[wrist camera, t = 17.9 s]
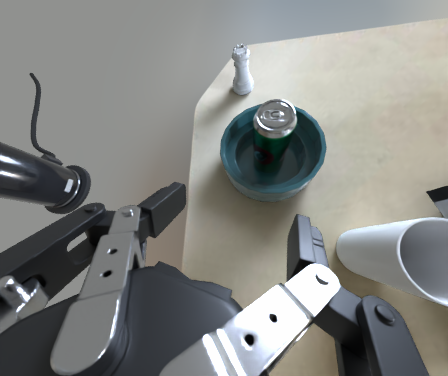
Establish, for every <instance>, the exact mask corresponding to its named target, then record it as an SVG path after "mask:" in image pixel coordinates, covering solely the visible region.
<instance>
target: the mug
mask: <svg viewBox="0 0 448 376" xmlns="http://www.w3.org/2000/svg"><path fill="white" fill-rule="evenodd" d="M336 251H337V255H338V257H339V259H340V261H341V262H342V264H343V265H344V266H345V267H346V268H347V269H349V270H350V271H352V272H354V273H356V274H359V275H361V276H364V277H366V278H369V279H371V280H374V281H377V282H380V283H383V284H385V285H388V286H391V287H393V288H396V289H399V290H402V291H404V292H407V293H410V294H412V295H415V296H418V297H421V298H424V299H426V300H429V301H432V302H435V303H438V304H441V305H444V306H447V307H448V219H444V218H436V217H430V218H422V219H413V220H407V221H400V222H394V223H388V224H382V225H376V226H370V227H363V228H357V229H352V230H348V231H346V232H344V233H343V234H342V235H341V236H340V237H339V238H338V240H337V244H336Z"/></svg>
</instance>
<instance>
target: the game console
mask: <svg viewBox="0 0 448 376" xmlns="http://www.w3.org/2000/svg"><path fill="white" fill-rule="evenodd" d="M427 194H428V195H429V197H430V198H431V199H432V201H433V202H434V204H435V205H436V207H437V208H438V209H439V211H440V212H441V214H442V215H443V216H444V218H445V219H448V186H445V187H441V188H438V189H434V190H431V191H427Z"/></svg>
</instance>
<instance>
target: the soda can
mask: <svg viewBox="0 0 448 376" xmlns="http://www.w3.org/2000/svg"><path fill="white" fill-rule="evenodd" d="M296 124H297V117H296V113H295V109H294V107H293V106H292V105H291V104H290V103H289V102H287V101H284V100H280V99H274V100H270V101H267V102H265V103H263V104H262V105H261V106H260V107H259V109H258V111H257V113H256V114H255V116H254V119H253V159H254V165H255V167H256V168H257V169H258V170H259V171H261V172H264V173H273V172H275V171H277V170H278V169H280V167H281V166H282V164H283V161H284V158H285V155H286V153H287V150H288V147H289V144H290V141H291V139H292V136H293V133H294V130H295V128H296Z"/></svg>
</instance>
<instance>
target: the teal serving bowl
mask: <svg viewBox="0 0 448 376" xmlns="http://www.w3.org/2000/svg"><path fill="white" fill-rule="evenodd" d="M261 105H262V104H259V105H257V106H254V107H251V108H249V109H246V110H245V111H243V112H242V113H240V114H239V115H238V116H236V117H235V118H234V119H233V120H232V121H231V123H230V124H229V125H228V126H227V128H226V129H225V132H224V134H223V137H222V139H221V150H220V155H221V158H222V161H223V164H224V167H225V170H226V172H227V175H228V177H229V180H230V181H231V182H232V184H233V185H234V186H235V188H236V189H237V190H238V191H240V192H241V193H242V194H244V195H245V196H247V197H248V198H251V199H255V200H258V201H262V202H277V201H281V200H284V199H287V198H290V197H293V196H294V195H295V194H297V193H298V192H299V191H301V190H302V189H303V188H304V187H305V186H306V185H307V184H308V183H309V182H310V181H311V180H312V179H313V178H314V176H315V175H316V173H317V172H318V170H319V169H320V167H321V166H322V165H323V162H324V158H325V153H326V142H325V136H324V132H323V131H322V129H321V127H320V126H319V124H318V122H317V121H316V120H315V119H314V118H313V117H312V116H310V115H309V114H308V113H307V112H306V111H304V110H302V109H300V108H297V107H295V106H293V105H292V106H293V107H294V109H295V113H296V117H297V124H296V128H295V130H294V133H293V136H292V139H291V141H290V144H289V147H288V150H287V153H286V155H285V158H284V161H283V164H282V166H281V167H280V169H278V170H277V171H275V172H273V173H264V172H261V171H259V170H258V169H257V168H256V167H255V165H254V159H253V119H254V116H255V114H256V113H257V111H258V109H259V107H260V106H261Z"/></svg>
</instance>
